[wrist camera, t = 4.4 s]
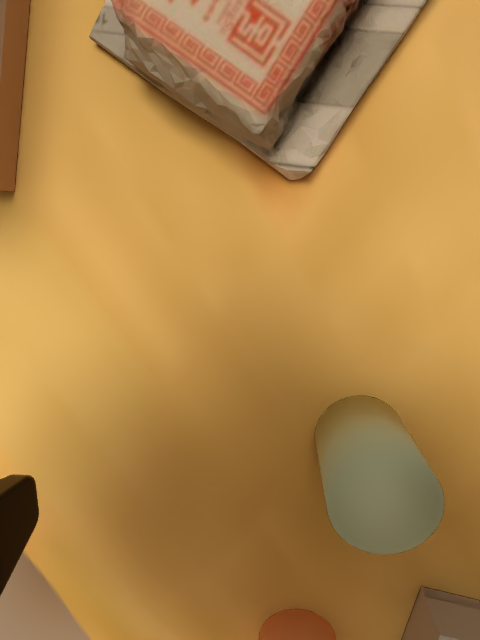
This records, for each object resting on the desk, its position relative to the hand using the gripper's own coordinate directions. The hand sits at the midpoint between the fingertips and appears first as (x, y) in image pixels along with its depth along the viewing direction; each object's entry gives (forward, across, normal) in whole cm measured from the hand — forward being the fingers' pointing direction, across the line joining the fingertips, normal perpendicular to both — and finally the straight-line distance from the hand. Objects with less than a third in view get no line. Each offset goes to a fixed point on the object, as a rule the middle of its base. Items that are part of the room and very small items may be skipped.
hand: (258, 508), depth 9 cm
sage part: (+12, -4, +4) cm, 13 cm away
